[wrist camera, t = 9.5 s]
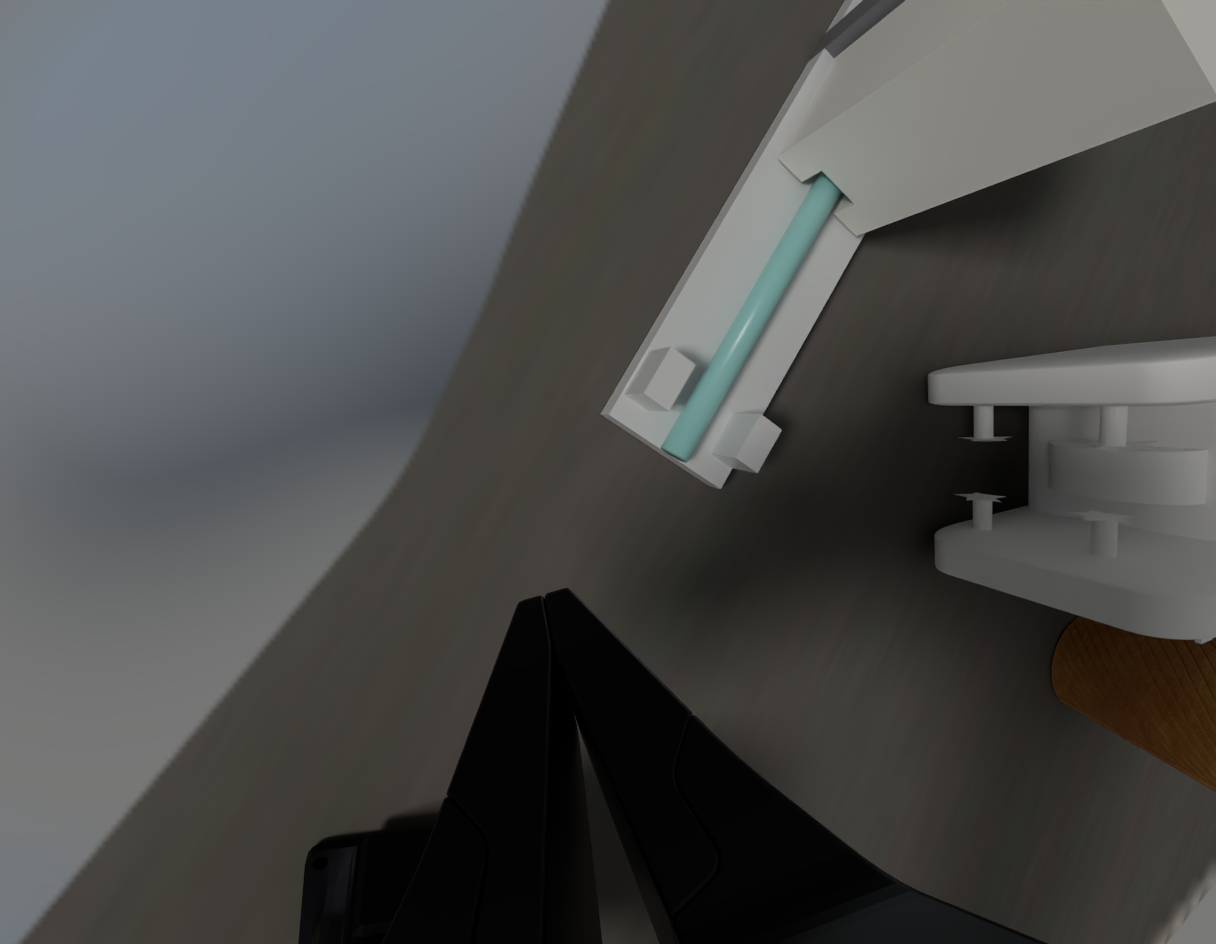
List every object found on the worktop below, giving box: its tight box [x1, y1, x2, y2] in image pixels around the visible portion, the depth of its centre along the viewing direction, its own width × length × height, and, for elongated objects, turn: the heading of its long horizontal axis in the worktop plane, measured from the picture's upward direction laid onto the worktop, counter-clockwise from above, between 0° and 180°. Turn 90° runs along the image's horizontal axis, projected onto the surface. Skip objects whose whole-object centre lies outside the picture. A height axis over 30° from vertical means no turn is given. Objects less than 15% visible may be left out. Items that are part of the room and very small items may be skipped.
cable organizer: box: [928, 336, 1216, 644], centre depth 26 cm, size 15×11×12 cm
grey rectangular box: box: [777, 0, 1216, 236], centre depth 18 cm, size 5×5×12 cm
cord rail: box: [601, 0, 905, 489], centre depth 22 cm, size 24×6×5 cm, turn 148°
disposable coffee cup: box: [1052, 616, 1216, 792], centre depth 30 cm, size 10×10×12 cm
